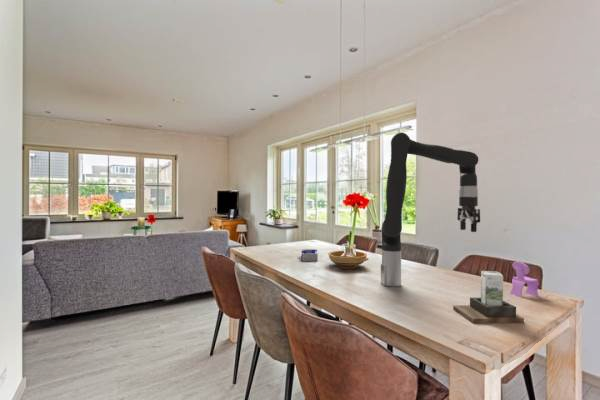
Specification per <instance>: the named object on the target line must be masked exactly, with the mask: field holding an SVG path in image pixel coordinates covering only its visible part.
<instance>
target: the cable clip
mask: <svg viewBox="0 0 600 400" xmlns="http://www.w3.org/2000/svg"><path fill="white" fill-rule="evenodd" d="M312 249H313V250H312V253H310V254H315V251H316V252H317V253H318V250H317V249H316V250H315V248H312ZM302 253H304V254H306V251H302V250H301V254H302ZM301 260H302V257H301Z"/></svg>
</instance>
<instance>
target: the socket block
mask: <svg viewBox="0 0 600 400" xmlns="http://www.w3.org/2000/svg"><path fill="white" fill-rule="evenodd" d="M452 307H453V308H452V309H453V311H455V312H456V313H458V314H460V315H461V316H462V317H463V318H465V319H466V320H468V321H470V322H471V323H472V324H511V323H512V324H517V323H520V324H523V323H525V318H524V317H522V316H520V315H519V314H517V306H515V305H513V304H511V303H509V302H507V301H505V300H503V306H487V305H486V304H484V303H482V302H481V296H480V297H469V305H465V304H464V305H463V304H461V305H458V304H457V305H453V306H452Z"/></svg>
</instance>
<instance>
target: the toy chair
mask: <svg viewBox="0 0 600 400" xmlns="http://www.w3.org/2000/svg"><path fill="white" fill-rule="evenodd" d="M512 268H513V269H514V271H515V272H516V276H512V280H511V282H512V283H511V284H512V287H511V290H510V292H509V294H511V295H514V296H515V297H519V298H523V288H524V286H526V285H527V287H526V290H525V291H524V293H525V294H528V295H532V296H535V297H539V293H538V287H539V280H538V279H536V278H532V277H529V276H526V275H528V274H529V273H530V267H529V266H528V265H527V264H526V263H525V262H521V261H517V260H516V261H514V262H513V263H512ZM525 284H526V285H525Z"/></svg>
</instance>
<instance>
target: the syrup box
mask: <svg viewBox="0 0 600 400" xmlns="http://www.w3.org/2000/svg"><path fill="white" fill-rule="evenodd" d="M480 272H481V273H480V276H481V277H480V279H481V280H480V282H481V283H480V284H481V285H480V288H481V289H480V290H481V291H480V297H481V302H482V303H484V304H486V305H487V306H503V301H504V275H503V274H502V273H501V272H499V271H493V270H492V271H491V270H490V271H489V270H481V271H480Z"/></svg>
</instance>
